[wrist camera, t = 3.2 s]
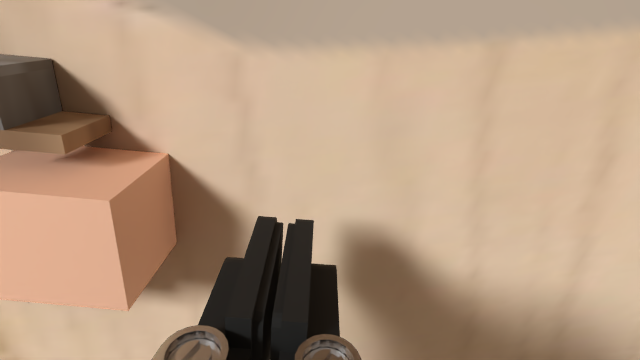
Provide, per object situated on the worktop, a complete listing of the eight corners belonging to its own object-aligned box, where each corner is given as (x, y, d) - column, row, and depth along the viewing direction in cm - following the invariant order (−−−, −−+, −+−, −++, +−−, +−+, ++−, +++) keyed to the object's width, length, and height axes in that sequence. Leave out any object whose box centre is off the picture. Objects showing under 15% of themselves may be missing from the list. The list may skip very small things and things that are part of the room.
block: (169, 152, 14) (109, 200, 10) (177, 241, 15) (128, 310, 12) (38, 141, 14) (-72, 184, 10) (60, 230, 15) (-27, 296, 12)
